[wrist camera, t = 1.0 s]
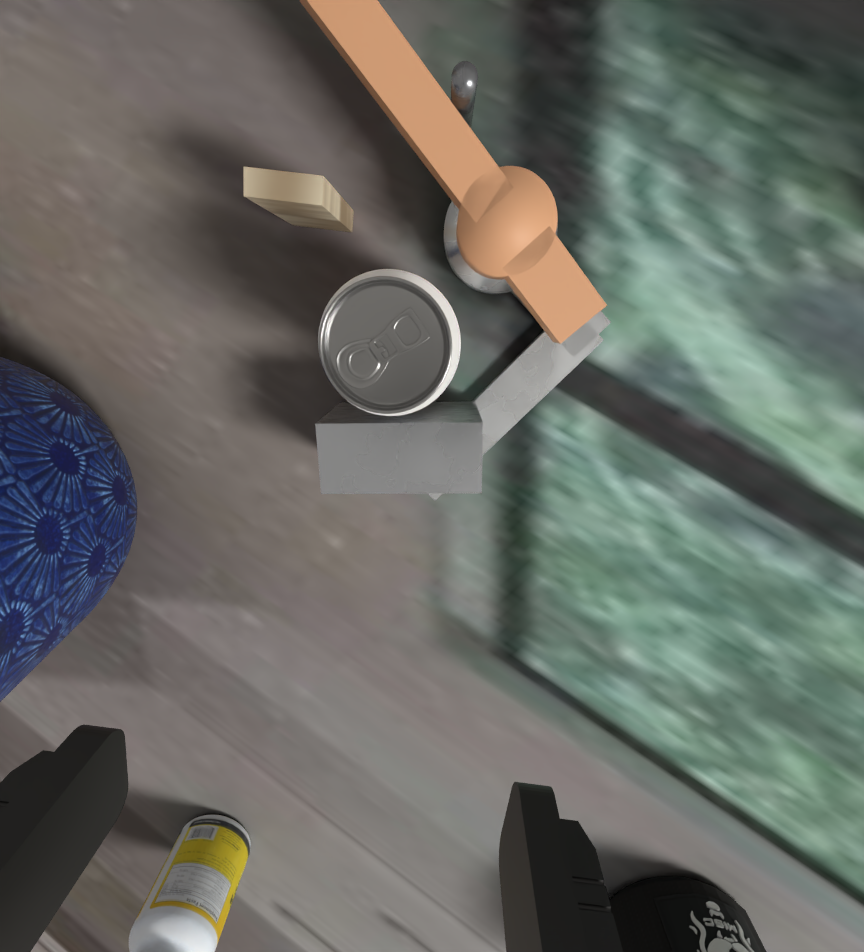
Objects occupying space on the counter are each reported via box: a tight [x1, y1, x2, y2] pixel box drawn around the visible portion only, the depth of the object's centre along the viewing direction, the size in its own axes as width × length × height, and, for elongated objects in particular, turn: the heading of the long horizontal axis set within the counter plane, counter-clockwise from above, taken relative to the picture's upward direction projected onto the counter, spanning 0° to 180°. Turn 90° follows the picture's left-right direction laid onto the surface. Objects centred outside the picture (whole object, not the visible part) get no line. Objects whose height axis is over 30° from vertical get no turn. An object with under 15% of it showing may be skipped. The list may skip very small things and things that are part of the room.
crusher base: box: [315, 61, 611, 500], centre depth 29 cm, size 20×15×7 cm
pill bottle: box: [129, 815, 251, 952], centre depth 41 cm, size 6×6×12 cm
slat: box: [244, 167, 353, 232], centre depth 27 cm, size 4×1×8 cm, turn 84°
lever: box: [299, 0, 607, 344], centre depth 22 cm, size 23×5×10 cm, turn 41°
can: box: [318, 269, 461, 416], centre depth 27 cm, size 6×6×12 cm
